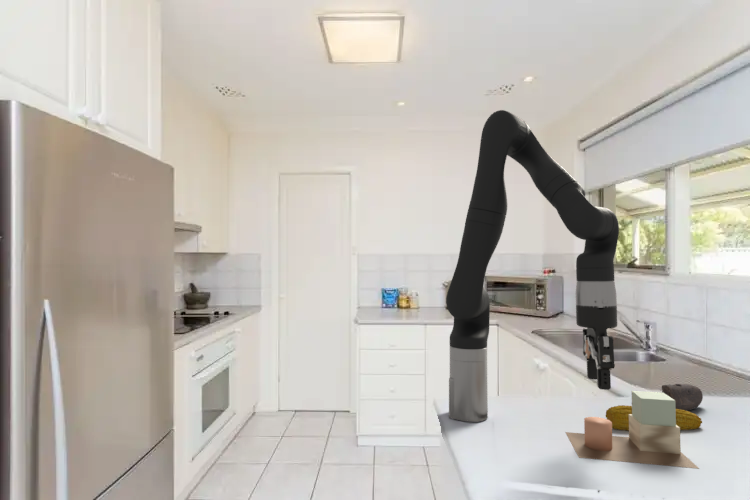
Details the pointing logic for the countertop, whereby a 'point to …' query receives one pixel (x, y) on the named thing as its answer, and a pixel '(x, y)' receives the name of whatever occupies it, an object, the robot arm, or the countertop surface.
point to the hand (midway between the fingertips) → (598, 383)
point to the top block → (653, 408)
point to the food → (621, 413)
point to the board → (627, 452)
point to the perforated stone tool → (684, 395)
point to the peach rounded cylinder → (598, 433)
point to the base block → (654, 437)
